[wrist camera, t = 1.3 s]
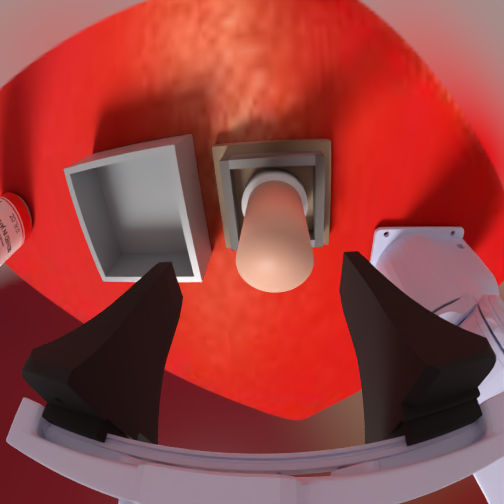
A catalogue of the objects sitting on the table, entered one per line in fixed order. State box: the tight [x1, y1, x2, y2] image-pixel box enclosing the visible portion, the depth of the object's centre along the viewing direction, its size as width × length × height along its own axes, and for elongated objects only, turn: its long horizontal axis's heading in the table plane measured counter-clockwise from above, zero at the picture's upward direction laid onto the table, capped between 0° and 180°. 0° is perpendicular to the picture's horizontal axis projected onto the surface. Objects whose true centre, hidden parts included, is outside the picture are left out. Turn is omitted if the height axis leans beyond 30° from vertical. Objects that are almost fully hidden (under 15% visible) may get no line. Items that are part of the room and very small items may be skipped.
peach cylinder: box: [236, 168, 314, 292], centre depth 16 cm, size 4×4×8 cm
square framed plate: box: [212, 139, 331, 250], centre depth 20 cm, size 8×8×2 cm
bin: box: [64, 134, 212, 282], centre depth 20 cm, size 9×10×4 cm
